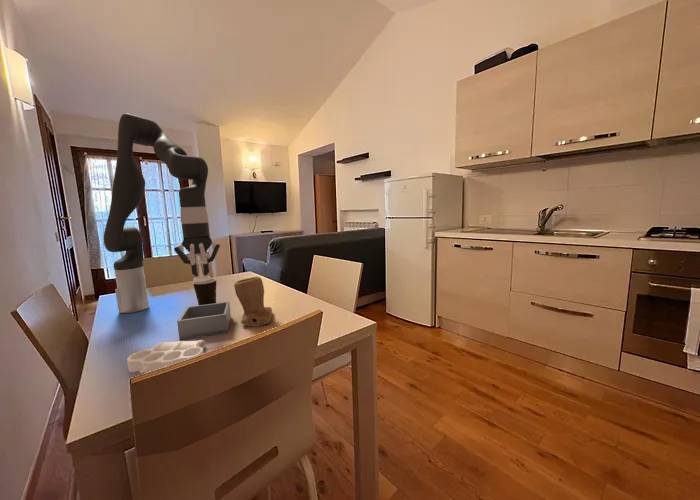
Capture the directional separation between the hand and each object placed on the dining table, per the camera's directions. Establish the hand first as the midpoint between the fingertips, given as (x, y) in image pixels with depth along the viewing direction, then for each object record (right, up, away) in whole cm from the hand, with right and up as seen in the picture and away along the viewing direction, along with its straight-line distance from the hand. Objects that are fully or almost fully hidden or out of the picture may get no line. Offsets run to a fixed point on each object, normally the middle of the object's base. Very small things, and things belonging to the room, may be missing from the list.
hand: (201, 275), depth 94 cm
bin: (+1, -18, +3) cm, 18 cm away
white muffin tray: (+1, -21, -18) cm, 28 cm away
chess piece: (0, -2, 0) cm, 2 cm away
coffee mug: (-11, -14, +28) cm, 33 cm away
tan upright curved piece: (+15, -17, +8) cm, 24 cm away
